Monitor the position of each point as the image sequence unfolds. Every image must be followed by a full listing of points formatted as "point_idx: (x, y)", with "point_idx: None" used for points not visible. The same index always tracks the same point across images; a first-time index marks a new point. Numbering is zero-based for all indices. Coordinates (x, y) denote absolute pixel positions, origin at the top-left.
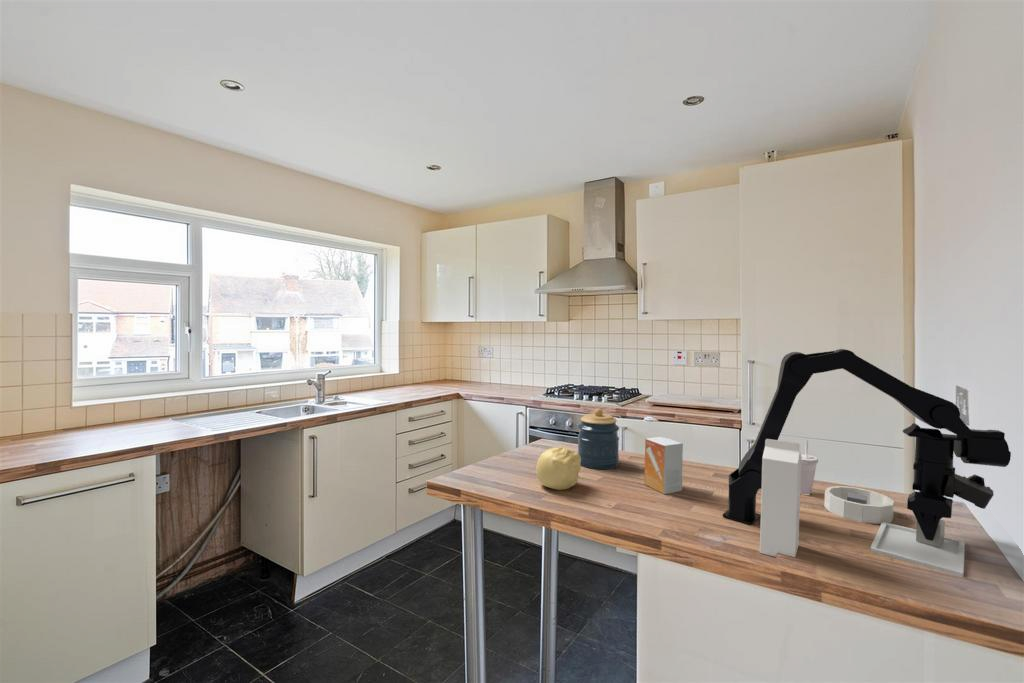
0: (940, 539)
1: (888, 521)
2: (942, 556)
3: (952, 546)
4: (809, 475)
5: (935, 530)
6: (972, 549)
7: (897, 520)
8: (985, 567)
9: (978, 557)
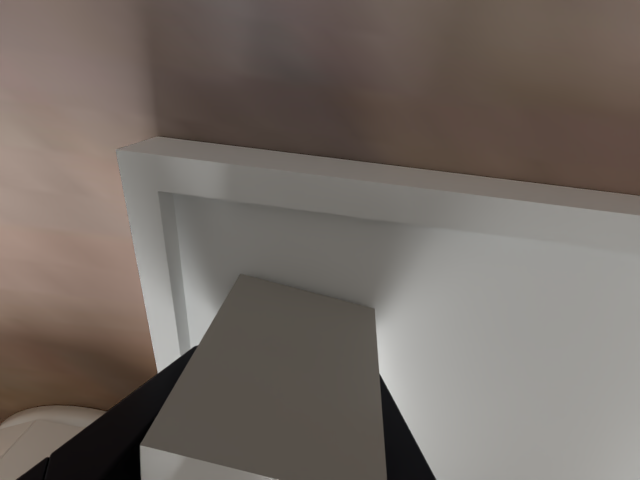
0: (357, 347)
1: None
2: (534, 309)
3: (269, 230)
4: None
5: (434, 477)
6: (109, 80)
7: (6, 384)
8: (471, 30)
9: (261, 57)
